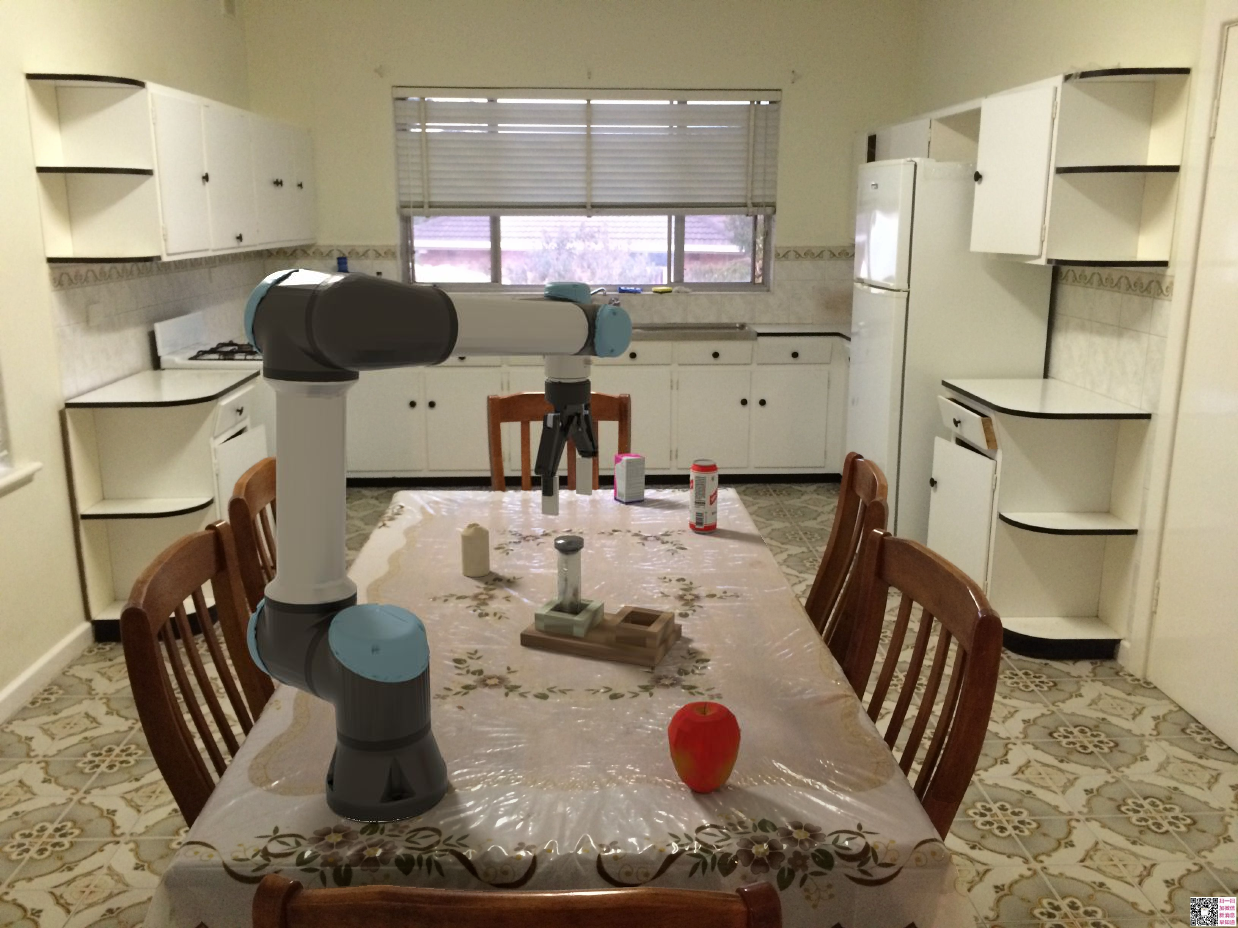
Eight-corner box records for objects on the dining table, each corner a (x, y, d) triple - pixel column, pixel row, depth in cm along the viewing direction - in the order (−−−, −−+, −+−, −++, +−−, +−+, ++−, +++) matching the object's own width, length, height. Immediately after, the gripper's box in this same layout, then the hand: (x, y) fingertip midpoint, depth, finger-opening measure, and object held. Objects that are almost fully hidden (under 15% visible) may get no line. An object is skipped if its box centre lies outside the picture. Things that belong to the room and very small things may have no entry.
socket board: (653, 667, 171) (654, 638, 169) (520, 644, 179) (519, 616, 178) (681, 635, 183) (682, 608, 182) (555, 614, 192) (555, 588, 191)
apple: (735, 767, 141) (738, 684, 138) (742, 805, 132) (745, 717, 129) (665, 766, 141) (667, 683, 138) (667, 804, 132) (669, 716, 129)
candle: (492, 575, 212) (491, 527, 209) (465, 578, 210) (464, 530, 207) (485, 566, 217) (484, 519, 214) (459, 569, 215) (457, 522, 212)
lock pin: (577, 631, 180) (576, 545, 176) (550, 626, 182) (549, 542, 178) (588, 620, 184) (588, 537, 181) (562, 616, 186) (561, 533, 182)
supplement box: (645, 501, 264) (645, 456, 261) (624, 504, 261) (625, 459, 258) (633, 495, 268) (633, 451, 266) (613, 499, 266) (613, 454, 263)
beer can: (686, 532, 239) (687, 464, 235) (692, 524, 245) (693, 457, 241) (713, 535, 237) (715, 466, 233) (719, 527, 243) (721, 459, 239)
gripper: (556, 391, 160) (556, 526, 165) (617, 369, 182) (616, 488, 187) (511, 388, 163) (513, 520, 168) (577, 366, 185) (577, 484, 190)
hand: (567, 504), depth 177 cm, fingers open, 13 cm apart
